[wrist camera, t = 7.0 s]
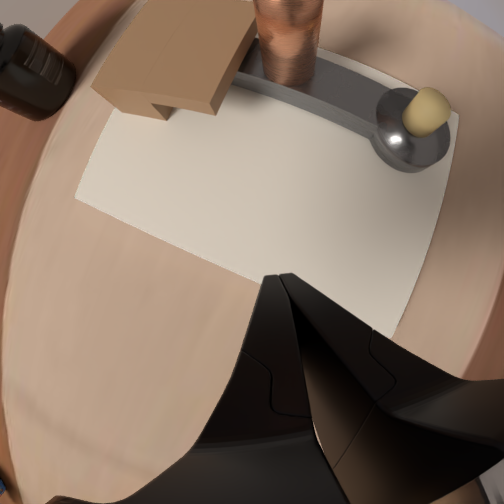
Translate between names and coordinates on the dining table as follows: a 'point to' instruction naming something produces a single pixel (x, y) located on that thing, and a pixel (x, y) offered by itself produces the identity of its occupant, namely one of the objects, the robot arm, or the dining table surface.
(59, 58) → the supplement bottle
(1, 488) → the snack cup
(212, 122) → the base
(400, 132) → the link
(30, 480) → the dining table surface
